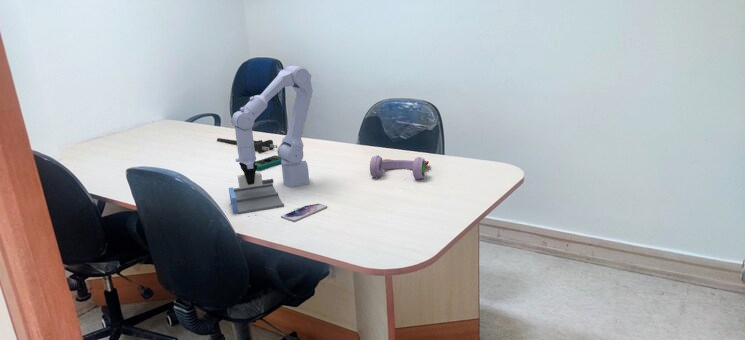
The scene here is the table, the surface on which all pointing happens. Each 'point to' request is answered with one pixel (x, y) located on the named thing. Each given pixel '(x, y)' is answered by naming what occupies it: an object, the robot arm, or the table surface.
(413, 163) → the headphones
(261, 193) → the board
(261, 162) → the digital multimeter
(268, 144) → the electrical plug
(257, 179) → the light grey long block
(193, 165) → the table surface
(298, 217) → the smartphone
